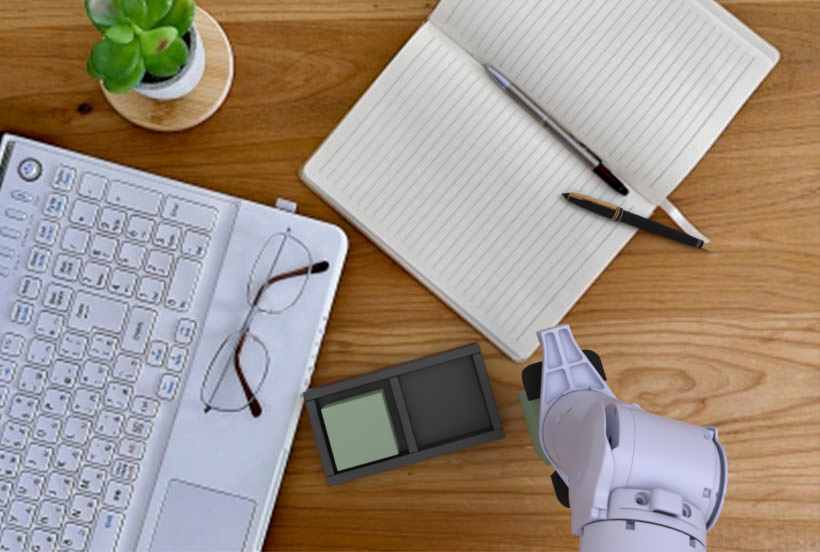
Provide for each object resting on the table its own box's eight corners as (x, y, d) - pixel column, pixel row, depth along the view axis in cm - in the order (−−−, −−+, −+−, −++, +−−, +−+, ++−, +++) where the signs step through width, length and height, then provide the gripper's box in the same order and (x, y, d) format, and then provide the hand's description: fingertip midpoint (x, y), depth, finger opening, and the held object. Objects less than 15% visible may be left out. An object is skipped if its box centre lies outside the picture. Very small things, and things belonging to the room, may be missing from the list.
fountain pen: (720, 246, 71) (727, 244, 69) (715, 258, 70) (722, 257, 69) (562, 188, 72) (565, 185, 70) (557, 200, 71) (560, 198, 70)
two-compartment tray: (501, 432, 70) (510, 443, 64) (331, 479, 70) (324, 495, 64) (475, 341, 71) (481, 344, 65) (307, 389, 71) (297, 396, 65)
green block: (596, 436, 65) (613, 447, 59) (535, 453, 65) (547, 465, 59) (577, 375, 65) (593, 380, 60) (517, 392, 65) (527, 398, 60)
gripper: (701, 543, 49) (637, 495, 63) (629, 311, 51) (582, 312, 64) (588, 574, 49) (549, 519, 63) (519, 341, 51) (495, 337, 64)
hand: (560, 416), depth 64 cm, fingers closed on green block, 5 cm apart
